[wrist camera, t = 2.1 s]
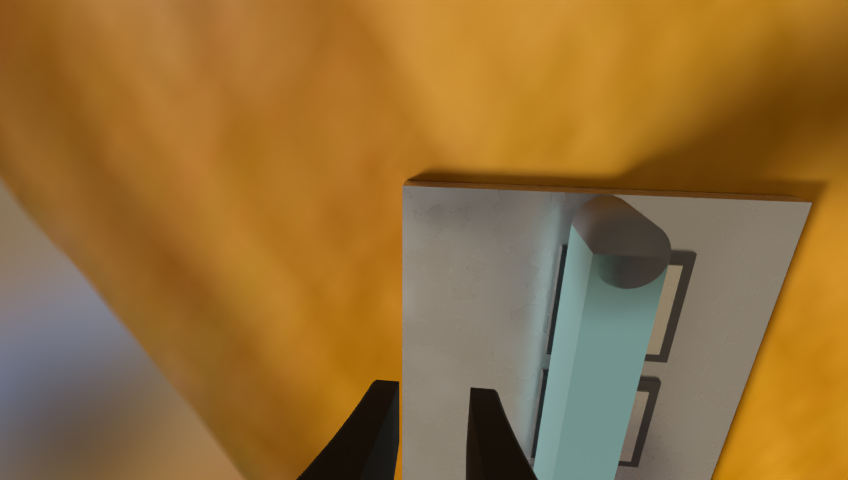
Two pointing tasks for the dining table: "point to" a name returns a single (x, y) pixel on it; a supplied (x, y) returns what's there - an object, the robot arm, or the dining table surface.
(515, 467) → the robot arm
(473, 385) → the panel
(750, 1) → the dining table surface
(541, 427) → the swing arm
